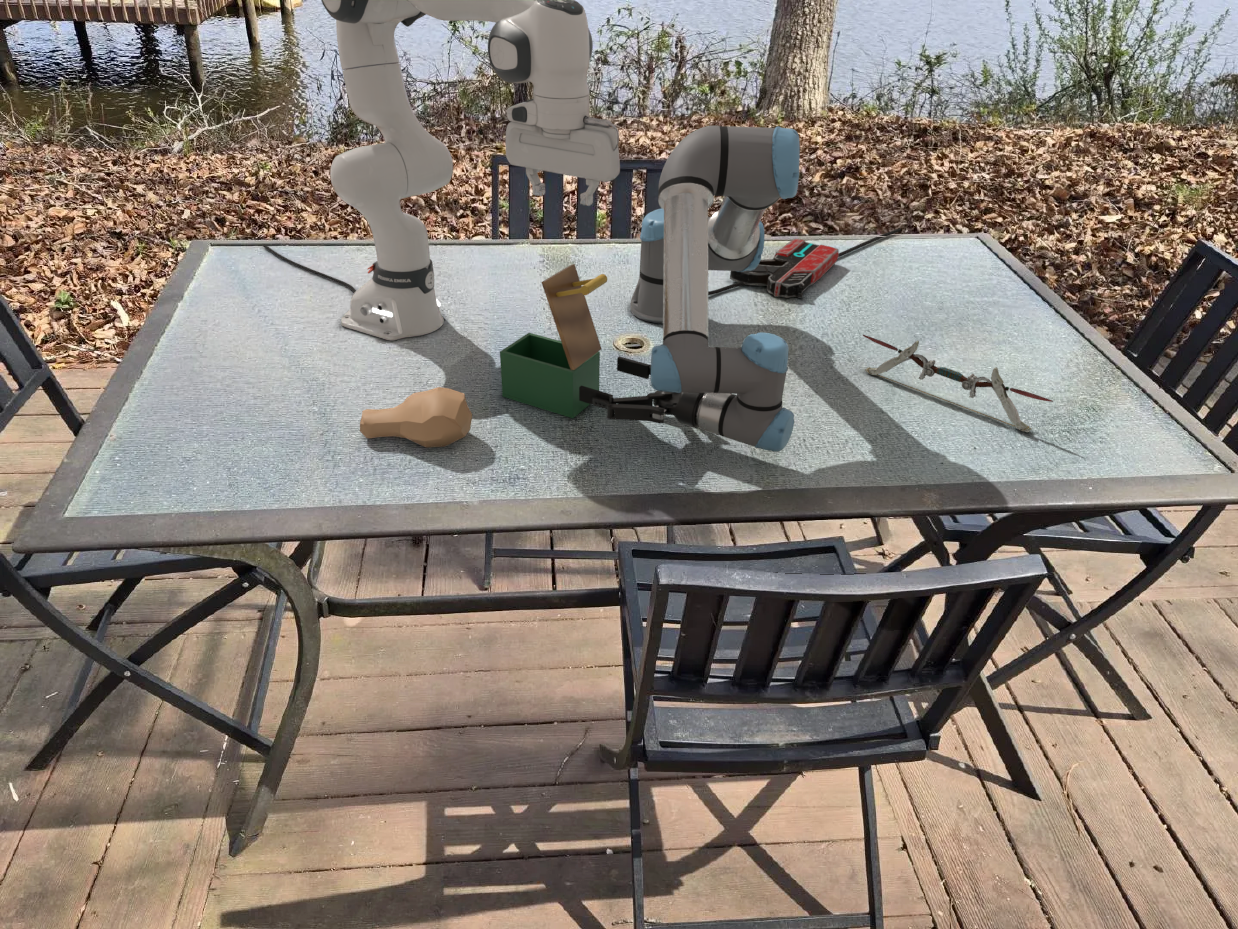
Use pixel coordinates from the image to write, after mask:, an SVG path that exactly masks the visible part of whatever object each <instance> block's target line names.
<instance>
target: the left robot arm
mask: <svg viewBox="0 0 1238 929" xmlns="http://www.w3.org/2000/svg"><path fill="white" fill-rule="evenodd" d="M320 1H321V4H322V5H323V8H324V9H325V11H326V12H327V13H328V14H329V16H330V17H331V18H332V19H334V20H336V21H335V24H336V25H335V26H336V28H335V29H336V40H337V42H336V43H337V49H338V51H337V52H338V57H339V62H340V67H341V72H342V75H343V79H344V80H343V81H344V85H345V90H346V93H347V94H346V95H347V98H348V102H349V106H350V109H351V111H352V112H353V114H354V115H355V116H356V117H357V118H358V119H360V120H361V121H363V122H364V123H367V124H369V125H373V126H375V127H376V128H377V129H378V130H379V131H380V133H381V135H382V137H383V139H384V142H383V143H377V144H371V145H364V146H358V147H355V148H352V149H350V150H346V151H344V152H342V153H339V154H337V155H336V156H335V157H334V159H333V160H332V163H331V166H330V170H329V171H330V172H329V177H330V182H331V185H332V188H333V190H334V192H335V194H336V195H337V196H338V197H339V198H340V200H342V201H343V202H344V203H346V204H347V205H349V206H351V207H353V208H354V209H355V210H357V211H358V212H359V213H360V214H361V215H362V216H363V218H364V219H365V220H366V222H367V224H368V226H369V228H370V230H371V233H372V238H373V239H372V240H373V243H374V248H375V253H376V254H375V255H376V261H374V262H373V263H372V265H371V266H369V267H368V268H367V274H370V273H372V277H371V278H370V279H369V280H367V282H365V283H364V284H363V285H362V286H360V287H359V288H358V289H355V288H354V287H353V286H352V285H351V284H350V283H348V282H345V281H343V280H341V279H339V278H335V277H333V276H330V275H328V274H326V273H324V272H323V273H322V272H320V271H319V270H314V269H313V268H310V267H307V266H305V265H302V264H300V263H298V262H295V261H293V260H291V259H289V258H287V257H285V256H284V255H282V254H280V253H278V252H277V251H275V250H274V249H272V248H271V247H269V246H268V245H267V244H263V245H262V247H263V248H264V249H266V250H267V251H268V252H270V253H271V254H273V255H275V256H276V257H278V258H279V259H281V260H283V261H285V262H287V263H289V264H291V265H293V266H295V267H298V268H300V269H302V270H304V271H307V272H309V273H312V274H315V275H317V276H320V277H323V278H325V279H328V280H330V281H333V282H335V283H338V284H341V285H343V286H345V287H347V288H348V289H350V290H351V291H352V293H353V294H352V296H351V299H350V305H349V310H347V311H346V313H344V314H343V316H342V317H341V320H340V324H341V326H342V327H344V328H347V329H350V330H354V331H357V332H360V333H364V334H367V335H370V336H373V337H377V338H380V339H383V340H387V341H396V340H397V341H398V340H401V339H404V338H412V337H420V336H423V335H427V334H430V333H431V334H432V333H434V332H436V331H437V330H439V329H441V327H442V326H443V325H444V323H445V320H444V317H443V314H442V312H441V310H440V307H441V302H440V301H439V300H438V299H437V296H436V291H435V271H434V264H433V260H432V259H431V253H430V243H429V232H428V229H427V227H426V225H425V223H424V222H423V221H422V220H421V219H420V218H419V217H417V216H415V215H412V214H409V213H407V212H404V211H403V210H402V207H401V200H402V199H406V198H411V197H416V196H422V195H426V194H430V193H432V192H434V191H437V190H440V189H441V188H443V187H446V186H447V185H448V184H450V182H451V180H452V177H453V174H454V161H453V157H452V154H451V152H450V150H449V149H448V146H446V145H445V144H444V142H442V140H440V139H438V138H436V136H433V135H432V134H431V133H430V132H428V130H426V128H425V127H424V126H423V125H422V123H421V122H420V120H419V119H418V118H417V116H416V114H415V112H414V110H413V108H412V106H411V103H410V100H409V96H408V93H407V88H406V85H405V81H404V76H403V70H402V66H401V62H400V58H399V54H398V49H397V45H396V39H395V32H396V28H397V26H398V25H399V24H400V23H401V24H402V25H403V26H405V27H408V28H409V27H410V26H413V24H414V23H415V22H416V21H417V20H420V19H421V18H423V17H424V16H426V15H427V16H429V17H431V18H434V19H436V20H439V21H445V22H446V21H447V22H468V21H469V22H470V21H476V22H477V21H478V22H490V23H494V25H493V26H492V28H491V30H490V33H489V35H488V37H487V38H488V39H487V55H488V60H489V63H490V66H491V69H492V70H493V71H494V74H496V76H497V77H498V78H500V79H501V81H504V82H505V83H510V84H527V83H531V84H532V86H533V91H532V93H533V94H532V95H533V96H532V97H533V98H531V99H527V100H525V101H524V102H520V103H517V104H514V105H512V106H509V107H508V108H507V109H506V117H507V120H508V121H509V122H508V124H507V125H506V129H505V157H506V160H507V161H508V162H509V164H510V165H512V166H515V167H522V168H525V175H526V177H527V179H528V181H529V182H530V184H531V188H532V189H531V190H532V195H533V196H538V197H542V196H545V194H546V183H543V182H542V181H541V179H540V176H539V173H540V172H541V171H542V172H548V173H554V174H559V175H565V176H570V177H575V178H580V179H585V185H586V186H587V189H586V191H584V192H582V193H580V195H579V199H580V201H579V203H580V205H582V206H588V207H590V206H591V205H593V203H594V193H595V192H596V191H597V189H598V187H599V185H600V182H603V183H609V182H611V181H613V180H615V179H616V178H617V177H619V175H620V173H621V162H620V150H619V143H620V142H619V141H620V132H619V129H618V128H617V126H616V125H615V124H614V123H612V121H611V120H610V119H605V118H602V119H601V118H597V117H593V116H590V87H589V84H588V73H589V72H588V71H589V68H590V62H591V58H592V55H593V49H594V43H593V42H594V41H593V37H592V36H593V35H592V33H591V31H590V28H589V23H588V22H589V21H588V17H587V14H586V13H587V12H586V10H585V8H584V5H582V4H581V3H579V2H578V1H576V0H320Z"/></svg>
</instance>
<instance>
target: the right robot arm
mask: <svg viewBox="0 0 1238 929" xmlns="http://www.w3.org/2000/svg"><path fill="white" fill-rule="evenodd" d="M800 151H801V146H800V136H799V132H798V131H797V130H796V129H794V128H789V127H781V126H775V127H763V126H762V127H759V126H731V125H730V126H729V125H727V126H725V125H707V126H703V127H700V128H698V129H696V130H693V131H692V132H690V133H689V134H687V135H686V136H685V137H684V138H683V139H682V140H680V142H678V143H677V145H676V146H674V148H673V150H672V151H671V153H670V154H669V156H668V157H667V159H666V161H665V163H664V165H663V168H662V170H661V174H660V176H659V181H658V189H657V190H658V191H657V193H658V194H657V196H658V197H657V201H658V205H659V207H660V208H658V209H654V210H653V211H650V212H648V213H647V214H646V215H645V216H644V217H643V219H642V220H641V221H642V222H641V231H640V232H641V233H640V234H639V240H640V256H639V257H640V258H639V259H640V260H639V277H638V280H637V283H636V286H635V288H634V291H633V293H632V296H631V299H630V306H629V307H630V308H629V309H630V312H631V314H632V315H633V316H634V317H636V318H638V319H640V320H642V321H645V322H649V323H652V324H653V323H654V324H662V344H660V345H654V346H653V347H652V349H651V353H650V364H649V363H645V362H642V361H638V360H634V359H631V358H627V357H623V356H620V355H619V356H618V357H617V359H616V371H617V372H620V373H624V374H627V375H631V376H634V377H637V378H642V379H645V380H650V385H651V387H652V389H654V390H655V391H654V392H649V393H647V394H646V395H639V396H625V397H614V394H611V393H609V392H606V391H605V392H604V391H601V390H599V391H598V390H595V389H591V388H588V387H585V386H580V387H579V401H582V402H586V403H589V404H590V405H592V406H593V407H597V408H600V409H603V410H606V418H607V420H617V421H618V420H619V421H637V422H638V421H640V422H652V423H655V424H664V423H665V422H664V421H665V417H666V416H674V417H675V419H676V420H677V423H679V424H680V425H683V426H686V427H689V428H693V429H698V428H699V430H700V431H703V432H707V433H710V434H714V435H716V436H721V437H723V438H726V439H729V440H732V441H736V442H739V443H742V444H745V445H748V446H750V447H751V446H752V447H754V448H755V449H762V450H765V451H769V452H774V453H775V452H776V453H777V452H781V451H783V450H784V449H785V448H786V446H787V445H788V443H789V441H790V439H791V436H792V434H793V430H794V426H795V414H794V412H793V411H792V410H790V409H788V408H786V407H784V406H783V395H784V389H785V383H786V379H787V378H786V377H787V372H788V369H789V366H788V363H789V362H788V361H789V349H790V348H789V345H788V343H787V341H786V340H785V339H784V338H782V337H781V336H779V335H778V334H774V333H770V332H756V333H751V334H748V335H746V337H744V339H743V341H742V343H741V345H740V346H741V347H734V346H733V347H732V346H731V347H730V346H729V347H728V346H710V345H709V296H712V295H716V294H719V293H723V292H725V291H728V290H732V289H735V288H738V287H742V286H747V285H746V284H744V283H743V282H735V283H732V284H729V285H726V286H723V287H721V288H716V289H714V290H713V289H712V290H710V291H709V271H716V272H717V271H718V272H731V271H737V272H744V271H752V270H754V269H755V268H756V267H757V266H758V264H759V263H760V260H762V255H763V254H764V248H765V227H764V223H763V222H762V218H763V216H764V214H765V212H766V209H769V208H770V207H772V206H773V205H775V204H776V203H777V202H778V201H779V199H780V198H781V199H782V200H787V199H792V198H794V197H796V195H797V193H798V189H799V177H800V160H801V159H800V155H801V152H800ZM715 197H722V201H721V204H720V207H719V209H718V210H716V211H715V212H714V213H713V214H712V215H711V216H709V209H710V208H711V207H712V206H713V204H714V201H715V200H714V199H715ZM901 231H902V229H901V228H897V229H894V230H891V231H887V232H885V233H883V234H879V236H886V237H888V236H891V235H894V234H897V233H900V232H901ZM883 238H884V237H877V236H874V237H873V238H870V239H869V240H865V241H864V242H861V243H859V244H857V245H855V246H853V247H850V248H847V249H845V250H843V251H841V252H839V256H838V258H840V257H843V256H845V255H848V254H849V253H851V252H854V251H856V250H858V249H861V248H862V247H865V246H867V245H869V244H871V243H874V242H877V241H879V240H881V239H883Z"/></svg>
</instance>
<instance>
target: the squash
mask: <svg viewBox="0 0 1238 929" xmlns="http://www.w3.org/2000/svg"><path fill="white" fill-rule="evenodd" d="M472 422H473V413H472V411H471V409H470V408H469V406H468V403H467V398H466V395H465V393H464V392H460V391H459V390H454V389H452V388H449V387H442V386H438V387H435V388H431V389H428V390H424V391H423V390H422V391H417V392H413V393H411V394H410V395H409V396H407V397H406V398H405V399H404V401H403V402H401V403H399V404H398V405H396V406H394V407H387V408H381V409H380V408H379V409H375V408H366V409H363V410H362V412H361V418H360V422H359V432H360V433H361V434H362V435H363V436H364V437H365V439H375V438H385V437H386V438H387V437H397V438H402V439H407V440H409V441H411V442H413V443H414V444H417V445H419V446H421V447H424V448H426V449H427V448H428V449H429V448H444V447H447V446H449V445H451V444H453V443H456V442H457V441H459V440H461V439H463V438H465V437H466V436H467V435H468V433H469V432H470V431H471V427H472Z"/></svg>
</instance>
